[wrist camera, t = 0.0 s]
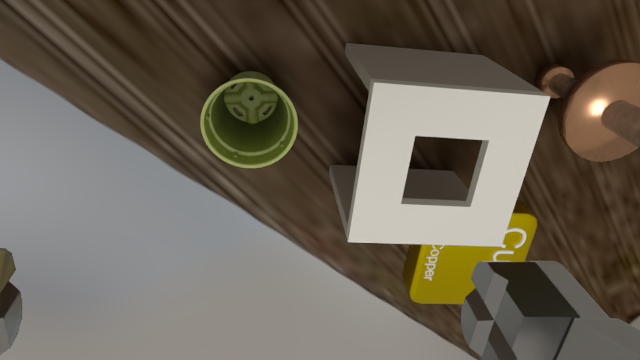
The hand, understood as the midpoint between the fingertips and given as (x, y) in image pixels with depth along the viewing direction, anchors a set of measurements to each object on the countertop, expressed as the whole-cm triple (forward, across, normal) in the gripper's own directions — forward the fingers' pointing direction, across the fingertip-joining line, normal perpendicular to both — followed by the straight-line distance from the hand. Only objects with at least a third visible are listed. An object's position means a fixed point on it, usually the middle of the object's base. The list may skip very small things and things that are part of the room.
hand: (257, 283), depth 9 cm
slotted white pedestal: (+48, -18, +13) cm, 53 cm away
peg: (+48, -35, +7) cm, 60 cm away
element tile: (+49, -30, +31) cm, 65 cm away
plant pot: (+48, 0, +12) cm, 50 cm away
